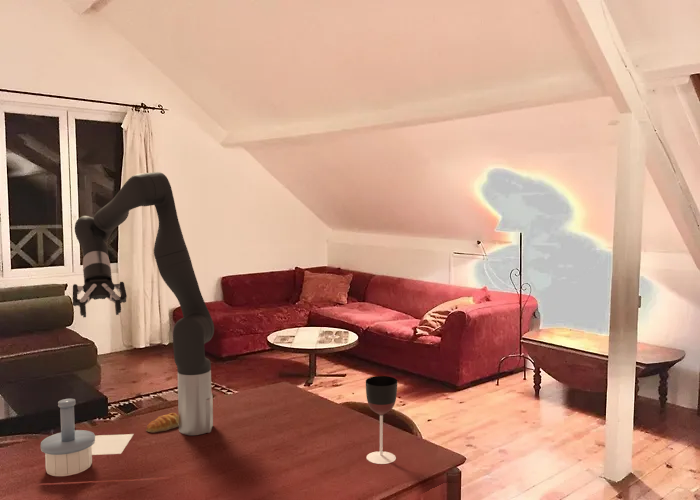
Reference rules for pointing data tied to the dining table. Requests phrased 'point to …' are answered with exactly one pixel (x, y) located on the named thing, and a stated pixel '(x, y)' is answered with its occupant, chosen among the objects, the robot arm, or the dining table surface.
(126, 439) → the mat
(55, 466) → the cup
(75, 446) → the lid
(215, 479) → the dining table surface
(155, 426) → the pastry
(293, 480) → the dining table surface
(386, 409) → the wineglass
